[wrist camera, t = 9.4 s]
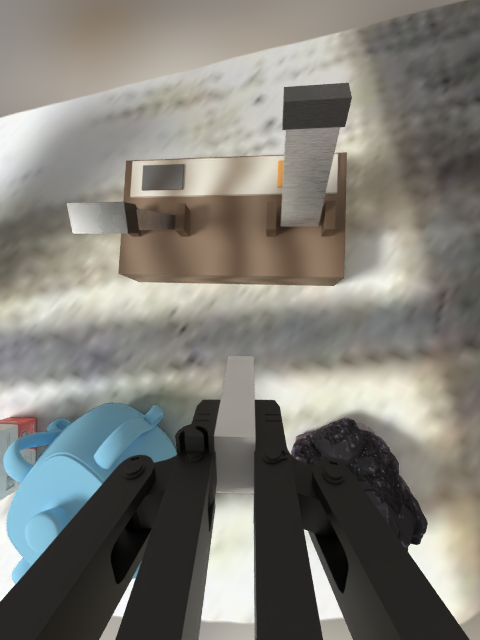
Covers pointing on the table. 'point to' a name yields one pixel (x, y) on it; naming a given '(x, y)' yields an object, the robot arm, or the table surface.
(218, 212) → the switch unit
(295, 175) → the lever
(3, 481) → the ink cartridge box
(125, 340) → the table surface
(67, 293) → the table surface
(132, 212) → the lever
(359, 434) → the black rock
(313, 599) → the robot arm
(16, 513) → the decorative pot
